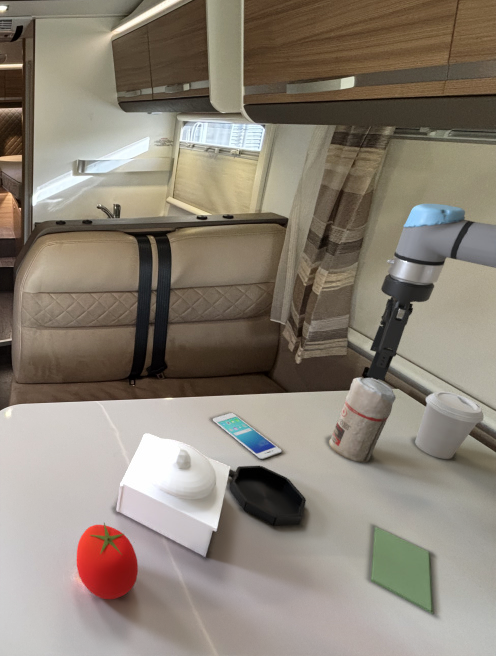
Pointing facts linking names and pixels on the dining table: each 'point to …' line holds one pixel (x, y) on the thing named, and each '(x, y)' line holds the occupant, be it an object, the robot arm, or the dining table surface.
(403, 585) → the green flat panel
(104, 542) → the tomato
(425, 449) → the coffee cup
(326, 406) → the dining table surface
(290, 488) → the black octagonal pan
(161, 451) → the butter dish
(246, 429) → the smartphone
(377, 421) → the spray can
